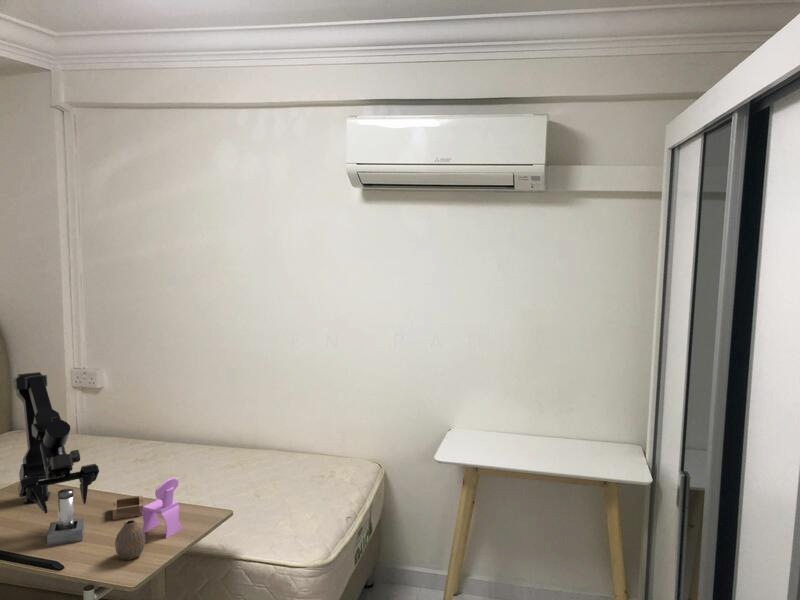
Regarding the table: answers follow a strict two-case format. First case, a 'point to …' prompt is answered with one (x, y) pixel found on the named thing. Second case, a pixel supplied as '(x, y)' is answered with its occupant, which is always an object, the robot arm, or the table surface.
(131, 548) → the vase
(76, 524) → the socket block
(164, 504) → the toy chair
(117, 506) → the block
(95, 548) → the table surface
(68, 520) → the silver and grey cylinder
